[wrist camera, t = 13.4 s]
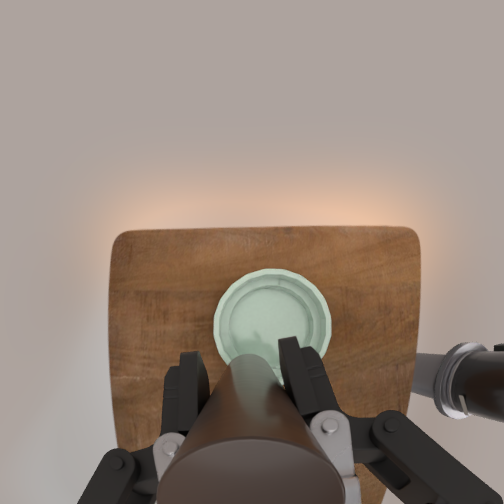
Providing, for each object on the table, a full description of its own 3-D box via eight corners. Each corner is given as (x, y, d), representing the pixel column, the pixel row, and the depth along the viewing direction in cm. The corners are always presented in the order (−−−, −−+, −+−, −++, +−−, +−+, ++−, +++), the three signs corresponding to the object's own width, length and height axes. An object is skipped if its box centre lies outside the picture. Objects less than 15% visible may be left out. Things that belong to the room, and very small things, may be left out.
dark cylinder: (272, 353, 19) (356, 429, 4) (272, 398, 18) (334, 559, 3) (224, 352, 19) (147, 428, 4) (224, 397, 18) (165, 558, 3)
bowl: (318, 278, 37) (330, 269, 31) (318, 375, 34) (330, 383, 28) (220, 276, 37) (215, 267, 31) (217, 375, 33) (212, 383, 28)
